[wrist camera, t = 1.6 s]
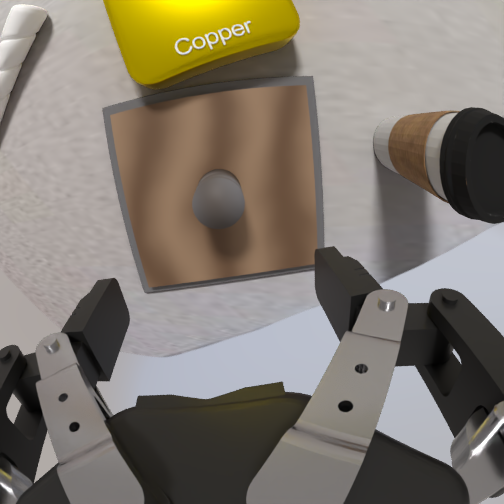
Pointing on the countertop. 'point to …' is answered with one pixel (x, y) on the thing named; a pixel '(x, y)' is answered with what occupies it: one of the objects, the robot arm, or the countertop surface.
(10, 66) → the unicorn horn
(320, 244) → the rubber mat
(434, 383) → the robot arm
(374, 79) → the countertop surface
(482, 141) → the coffee cup
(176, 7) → the element tile
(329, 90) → the countertop surface
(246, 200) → the walnut lid
